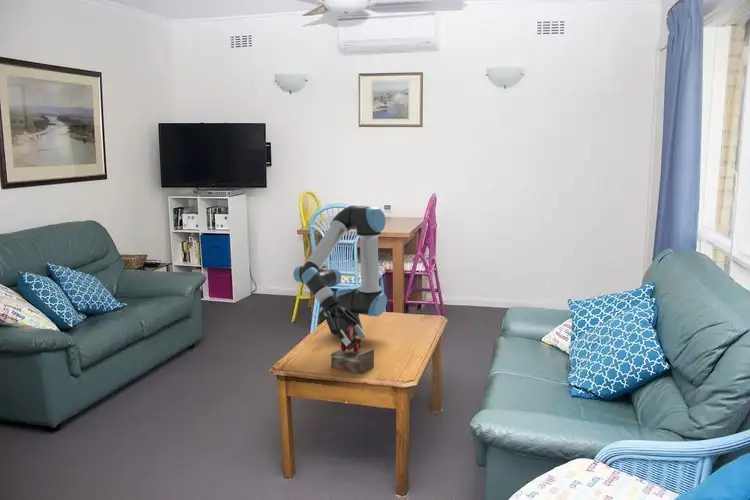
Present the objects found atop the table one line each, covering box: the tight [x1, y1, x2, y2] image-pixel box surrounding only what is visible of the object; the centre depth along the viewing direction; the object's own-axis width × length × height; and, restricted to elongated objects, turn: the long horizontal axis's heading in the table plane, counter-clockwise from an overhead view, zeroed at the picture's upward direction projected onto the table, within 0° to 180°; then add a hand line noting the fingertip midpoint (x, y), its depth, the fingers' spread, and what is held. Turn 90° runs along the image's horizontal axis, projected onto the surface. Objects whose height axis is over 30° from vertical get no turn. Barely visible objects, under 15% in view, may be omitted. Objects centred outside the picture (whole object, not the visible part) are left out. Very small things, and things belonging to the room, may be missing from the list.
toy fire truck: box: [340, 324, 362, 352], centre depth 262 cm, size 7×12×10 cm, turn 169°
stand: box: [330, 348, 375, 375], centre depth 262 cm, size 15×10×8 cm
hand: (356, 341), depth 260 cm, fingers closed on toy fire truck, 11 cm apart
